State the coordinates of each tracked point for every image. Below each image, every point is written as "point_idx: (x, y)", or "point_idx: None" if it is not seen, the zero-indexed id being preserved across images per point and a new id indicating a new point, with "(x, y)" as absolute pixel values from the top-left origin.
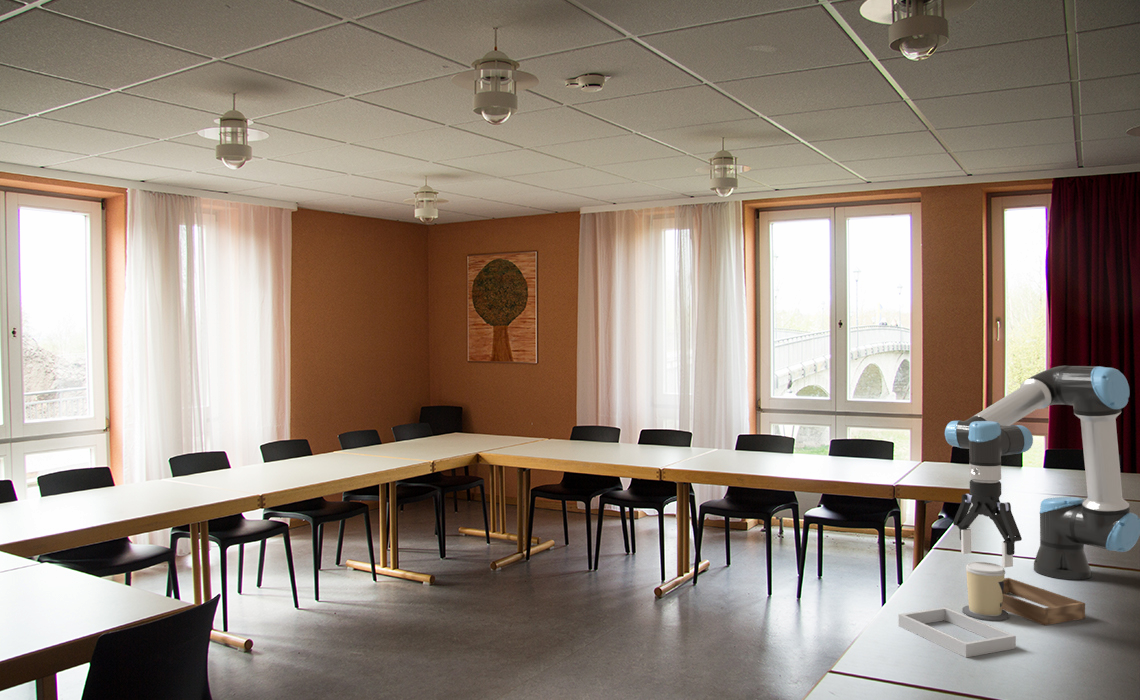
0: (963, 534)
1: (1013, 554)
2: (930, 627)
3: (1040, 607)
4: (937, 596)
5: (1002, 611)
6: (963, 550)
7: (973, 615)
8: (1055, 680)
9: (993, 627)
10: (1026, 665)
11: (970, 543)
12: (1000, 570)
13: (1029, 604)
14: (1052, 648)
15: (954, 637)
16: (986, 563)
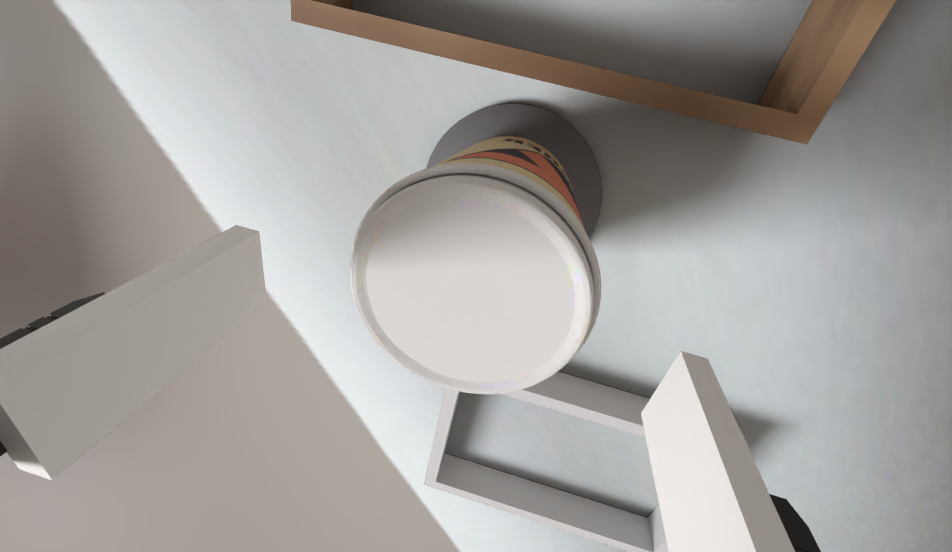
0: (107, 433)
1: (782, 503)
2: (534, 517)
3: (774, 122)
4: (277, 149)
5: (554, 138)
6: (244, 318)
7: None
8: (897, 540)
9: None
10: (802, 501)
11: (188, 282)
12: (587, 319)
13: (701, 118)
14: (853, 357)
15: (615, 540)
16: (409, 206)
